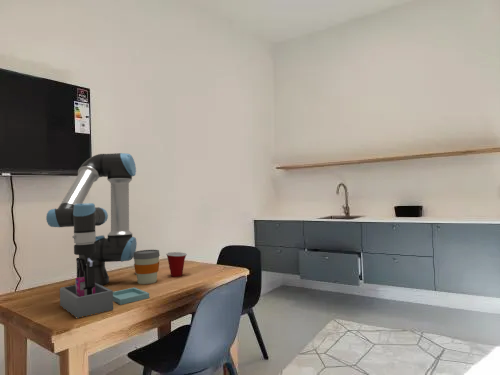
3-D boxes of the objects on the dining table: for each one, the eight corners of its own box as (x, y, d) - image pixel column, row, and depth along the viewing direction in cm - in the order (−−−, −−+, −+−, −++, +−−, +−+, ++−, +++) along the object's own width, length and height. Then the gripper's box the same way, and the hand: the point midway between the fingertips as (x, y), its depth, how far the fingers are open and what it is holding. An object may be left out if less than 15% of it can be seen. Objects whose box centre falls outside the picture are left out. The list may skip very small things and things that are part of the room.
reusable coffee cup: (164, 279, 172) (164, 249, 173) (152, 285, 160) (151, 253, 160) (142, 278, 175) (142, 249, 175) (128, 284, 163) (128, 253, 163)
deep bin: (60, 305, 132) (59, 287, 132) (93, 298, 141) (92, 281, 141) (77, 318, 117) (76, 298, 117) (113, 309, 125) (112, 290, 125)
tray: (106, 297, 141) (106, 293, 141) (134, 291, 149) (134, 287, 149) (120, 304, 131) (120, 299, 131) (149, 297, 139) (149, 293, 139)
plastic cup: (185, 277, 173) (184, 254, 174) (164, 278, 174) (163, 254, 174) (189, 273, 184) (188, 251, 185) (169, 273, 185) (169, 251, 185)
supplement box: (75, 307, 129) (75, 277, 129) (92, 304, 133) (91, 275, 133) (79, 311, 125) (78, 280, 125) (96, 307, 128) (95, 277, 129)
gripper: (67, 242, 134) (67, 301, 133) (82, 246, 120) (83, 312, 119) (87, 240, 139) (87, 297, 138) (104, 244, 125) (105, 306, 125)
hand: (85, 304), depth 129 cm, fingers closed on supplement box, 6 cm apart
